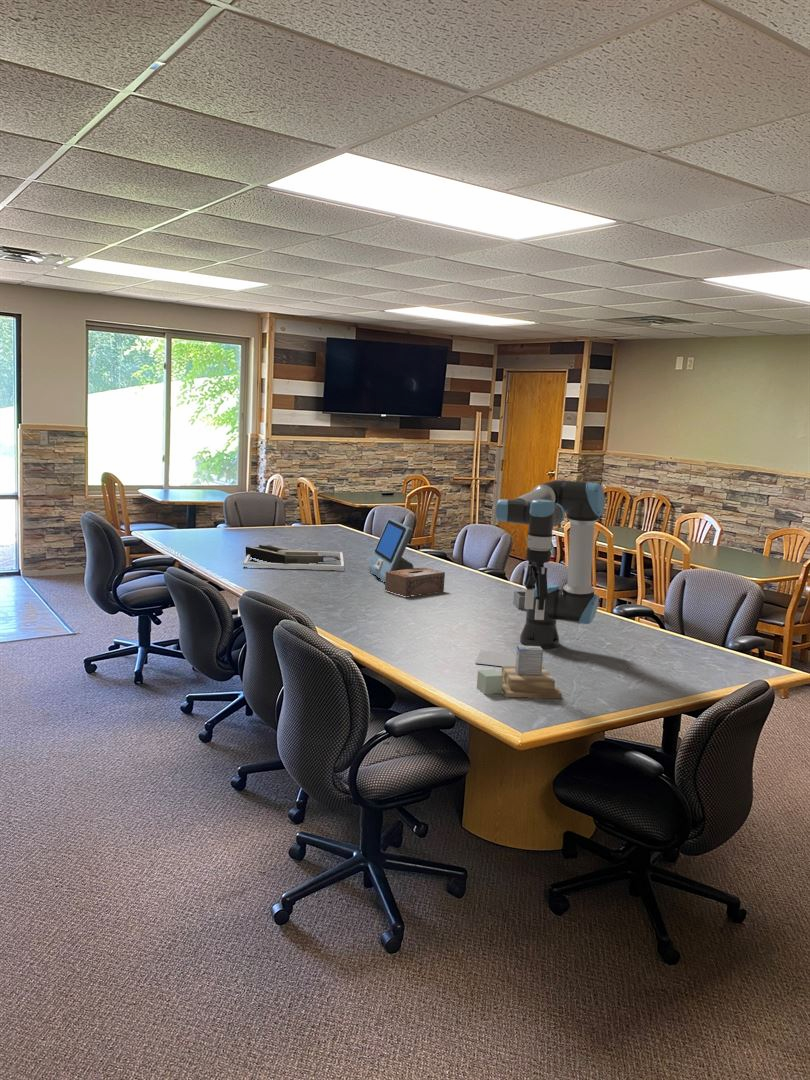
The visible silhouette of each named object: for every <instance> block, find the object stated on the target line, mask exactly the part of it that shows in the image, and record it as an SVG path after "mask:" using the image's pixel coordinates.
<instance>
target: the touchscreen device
mask: <svg viewBox="0 0 810 1080" xmlns="http://www.w3.org/2000/svg"><path fill="white" fill-rule="evenodd" d="M413 531H414V530H413V528H411V527H409V526H407V525H406V524H404V523H401V522H399V521H397V520H396V519H392V518H390V517H389V518H388V519H387V521H386V524H384V528H383V530H382V532H381V535H380V536H379V539H378V542H377V544H376V545H375V548H374V550H373V553H372V556H371V558H370V562H369V565H368V571H369V570H370V571H371V572H372V573H373V574H375V575H376V576H377V577H378V578H380V579H381V580H382V581H384V582H385V578H386V572H389V571H397V570H405V569H414V565H413V563H412V562H410V561H408V560H407V559H405V558H403V555H404V552H405V550H406V548H407V546H408V543H409V542H410V539H411V537H412V535H413ZM370 571H369V572H370ZM371 572H370V573H371ZM372 573H371V574H372ZM373 574H372V575H373ZM376 576H375V577H376ZM377 577H376V578H377ZM378 578H377V579H378ZM380 579H379V580H380ZM381 580H380V581H381ZM382 581H381V582H382ZM384 582H383V583H384Z"/></svg>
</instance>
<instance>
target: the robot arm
mask: <svg viewBox="0 0 810 1080" xmlns="http://www.w3.org/2000/svg"><path fill="white" fill-rule="evenodd" d="M605 506H606V497H605V492H604V489H603V487H602V485H601V484H599V483H595V482H590V481H577V480H565V479H559V480H558V479H557V480H552V481H547V482H544V483H541V484H538V485H536V486H535V487H533V489H532V490H531V491H529V492H527V493H525V494H522V495H520V496H518V497H515V498H513V499H508V498H506V499H504V498H503V499H502V498H501V499H500V498H499V499H498V501H497V502H496V504H495V507H494V508H495V509H494V510H495V511H494V515H495V519H496V521H499V522H504V523H512V524H521V525H522V524H523V525H528V532H527V533H528V534H527V537H526V538H525V540H526V541H527V545H526V546H527V547H528V548H527V549H526V554H525V555H526V557H525V559H526V561H527V562H528V565H527V571H526V574H525V580H524V586H525V592H526V595H525V609H527V610H526V614H525V615H526V617H525V618H526V619H525V623H524V625H523V628H522V631H521V633H520V636H519V642H520V644H522V645H523V646H540V647H541V648H542V649H554V648H557V647H559V645H560V636H559V632H558V631H559V630H558V628H557V620H558V621H562V622H569V623H574V624H575V623H576V624H579V625H580V624H582V625H590V624H591V623H593V621H594V619H595V616H596V614H597V610H598V608H599V607H598V606H599V604H600V603H599V602H600V599H599V597H600V596H599V595H598V594H595V588H594V587H593V586H592V584H591V583H592V570H593V569H592V566H593V551H594V549H593V547H594V536H595V535H594V534H595V531H594V530H595V523H597V522H598V521H599V518H600V517H601V516H603V514H604V512H605ZM565 517H566V519H567V520H568V521H569V523H570V526H569V527H570V529H569V548H568V565H567V583H566V584H564V585H563V587H562V589H561V587H560V586H559V584H555V583H548V575H547V574H548V567H545V566H544V564H545V563H550V561H551V554H552V551H551V549H552V543H553V541H552V540H553V530H554V529H553V528H554V527H558V526H559V525H560V524H562V523H563V522H564V520H565Z"/></svg>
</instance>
